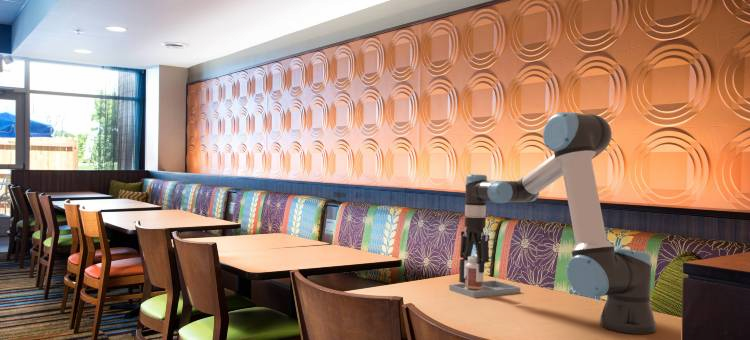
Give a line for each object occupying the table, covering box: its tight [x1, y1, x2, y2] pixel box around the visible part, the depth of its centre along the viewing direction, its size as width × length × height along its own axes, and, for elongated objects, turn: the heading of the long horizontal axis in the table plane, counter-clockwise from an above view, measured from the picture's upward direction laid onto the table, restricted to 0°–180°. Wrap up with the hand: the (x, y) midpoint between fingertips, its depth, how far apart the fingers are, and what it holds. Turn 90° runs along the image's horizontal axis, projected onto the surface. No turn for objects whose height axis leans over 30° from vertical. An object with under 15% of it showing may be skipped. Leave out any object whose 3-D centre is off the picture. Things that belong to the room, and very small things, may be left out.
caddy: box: [448, 280, 521, 299], centre depth 218 cm, size 14×22×2 cm, turn 120°
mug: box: [458, 258, 484, 284], centre depth 237 cm, size 9×12×9 cm
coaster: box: [463, 287, 484, 292], centre depth 215 cm, size 8×8×1 cm
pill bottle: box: [465, 255, 482, 289], centre depth 215 cm, size 6×6×11 cm
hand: (473, 279), depth 215 cm, fingers closed on pill bottle, 6 cm apart
